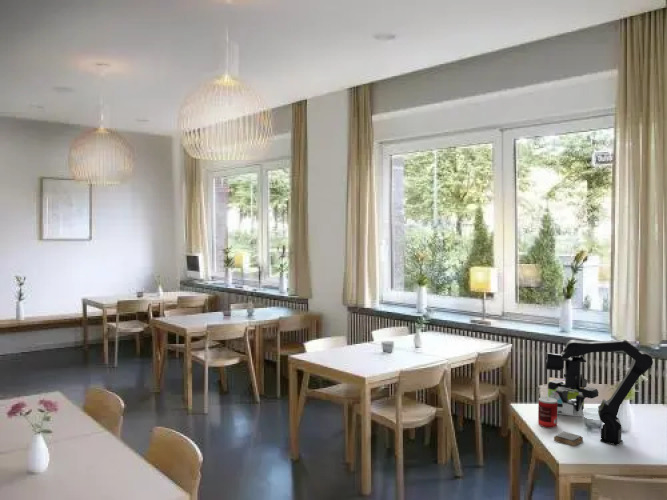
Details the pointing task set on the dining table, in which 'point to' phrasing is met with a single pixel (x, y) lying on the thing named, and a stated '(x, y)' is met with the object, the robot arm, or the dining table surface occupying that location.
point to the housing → (570, 407)
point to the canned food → (547, 412)
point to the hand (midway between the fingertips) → (572, 409)
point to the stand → (568, 438)
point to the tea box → (559, 402)
